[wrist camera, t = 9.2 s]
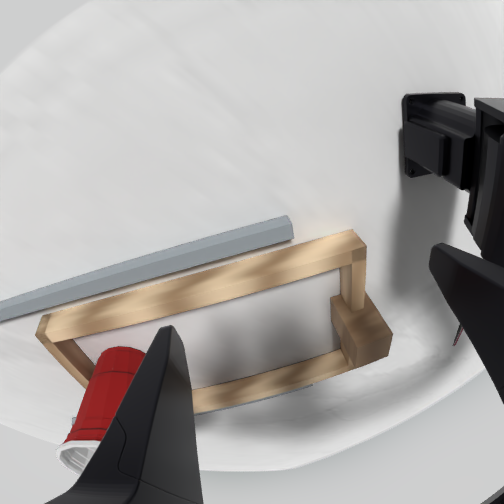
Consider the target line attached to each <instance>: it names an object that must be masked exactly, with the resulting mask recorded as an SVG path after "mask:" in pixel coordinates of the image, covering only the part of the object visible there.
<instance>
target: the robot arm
mask: <svg viewBox="0 0 504 504" xmlns="http://www.w3.org/2000/svg"><path fill="white" fill-rule="evenodd" d="M410 98H411V102H410V103H409V99H410ZM474 106H475V107H476V110H475V109H472V108H470V107H467V106H466V100H465V96H464V94H462V93H459V92H440V93H413V94H406V95H405V96H404V98H403V109H404V147H405V174H406V175H407V176H409V177H410V178H413V177H418V176H422V175H427V174H431V173H434V174H435V175H437V176H438V177H442V178H443V179H445V180H447V181H448V182H450V183H451V184H453V185H454V186H456V187H457V188H459V189H460V190H465V191H466V192H468V193H469V194H470V195H469V202H468V209H467V214H466V215H465V219H464V224H465V225H466V227H467V228H468V230H469V231H470V233H471V234H472V236H473V239H474V241H475V242H476V244H477V245H478V247H479V248H480V250H481V256H482V258H483V259H482V258H480V257H477V256H475V255H472V254H470V253H467V252H465V251H462V250H460V249H457V248H454V247H452V246H449V245H447V244H444V243H439V244H437V245H434V246H433V247H432V249H431V254H430V260H429V269H430V271H431V273H432V275H433V277H434V279H435V280H436V282H437V284H438V286H439V288H440V290H441V292H442V294H443V295H444V297H445V299H446V301H447V303H448V305H449V306H450V308H451V309H452V311H453V313H454V314H455V316H456V317H457V319H458V321H459V322H460V324H461V326H462V327H463V329H464V331H465V332H466V334H467V336H468V337H469V339H470V341H471V342H472V344H473V346H474V348H475V349H476V351H477V353H478V355H479V357H480V358H481V360H482V362H483V364H484V366H485V368H486V369H487V371H488V373H489V375H490V377H491V379H492V381H493V383H494V385H495V387H496V389H497V391H498V393H499V395H500V397H501V399H502V402H503V404H504V99H503V98H474ZM411 169H412V172H411V173H410V171H411ZM45 504H203V497H202V489H201V481H200V473H199V464H198V455H197V445H196V434H195V423H194V411H193V398H192V388H191V382H190V377H189V372H188V366H187V361H186V355H185V349H184V345H183V342H182V340H181V338H180V336H179V335H178V333H177V331H176V329H175V328H174V327H173V326H172V325H169V326H165V327H161V328H160V329H159V330H158V332H157V334H156V336H155V338H154V340H153V342H152V343H151V345H150V347H149V349H148V351H147V353H146V355H145V357H144V359H143V360H142V362H141V364H140V366H139V368H138V370H137V372H136V374H135V376H134V378H133V380H132V382H131V384H130V386H129V388H128V389H127V391H126V393H125V395H124V397H123V399H122V401H121V403H120V405H119V407H118V409H117V411H116V413H115V416H114V417H113V419H112V421H111V423H110V425H109V427H108V429H107V431H106V433H105V435H104V437H103V439H102V441H101V442H100V444H99V446H98V447H97V449H96V451H95V452H94V454H93V456H92V457H91V459H90V461H89V462H88V464H87V465H86V467H85V469H84V470H83V472H82V474H81V475H80V477H79V479H78V480H77V482H76V483H75V484H74V485H73V486H72V487H71V488H70V489H69V490H68V491H67V492H65V493H63V494H62V495H60V496H58V497H56V498H54V499H53V500H51V501H49V502H47V503H45ZM481 504H504V487H502V488H501V489H500V490H499V491H497V492H496V493H495V494H493V495H492V496H491V497H489V498H488V499H487V500H485V501H484V502H482V503H481Z"/></svg>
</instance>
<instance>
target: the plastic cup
mask: <svg viewBox="0 0 504 504" xmlns="http://www.w3.org/2000/svg"><path fill="white" fill-rule="evenodd" d="M145 355H146V354H145V353H143V352H142V351H140V350H137V349H133V348H130V347H119V346H118V347H113V348H108V349H107V350H105V351H104V352H102V353H101V356H100V357H99V358H98V361H97V364H96V366H95V369H94V372H93V375H92V378H90V381H89V383H88V386H87V389H86V392H85V394H84V397H83V400H82V403H81V406H80V409H79V412H78V414H77V417H76V420H75V424H73V426H72V429H71V431H70V433H69V434H68V436H67V439H66V440H65V441H64V443H63V444H61V445H59V446H58V448H57V451H56V458H57V459H58V460H59V461H60V463H61V464H62V465H63V466H64V467H65V468H67V469H69V470H70V471H72V472H73V473H75V474H77V475H78V476H80V475H81V474H82V472H83V470H84V469H85V467H86V465H87V464H88V462H89V461H90V459H91V457H92V456H93V454H94V452H95V451H96V449H97V447H98V446H99V444H100V442H101V441H102V439H103V437H104V435H105V433H106V431H107V429H108V427H109V425H110V423H111V421H112V419H113V417H114V416H115V413H116V411H117V409H118V407H119V405H120V403H121V401H122V399H123V397H124V395H125V393H126V391H127V389H128V388H129V386H130V384H131V382H132V380H133V378H134V376H135V374H136V372H137V370H138V368H139V366H140V364H141V362H142V360H143V359H144V357H145Z"/></svg>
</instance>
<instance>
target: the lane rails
mask: <svg viewBox="0 0 504 504" xmlns="http://www.w3.org/2000/svg"><path fill="white" fill-rule="evenodd" d="M293 238H294V233H293V226H292V223H291V221H290V219H289V218H288V216H287V215H286V216H282V217H279V218H275V219H271V220H268V221H264V222H260V223H257V224H253V225H249V226H246V227H242V228H239V229H235V230H231V231H228V232H224V233H221V234H217V235H214V236H210V237H207V238H203V239H200V240H196V241H193V242H189V243H186V244H182V245H179V246H176V247H172V248H169V249H165V250H162V251H159V252H155V253H152V254H149V255H145V256H142V257H139V258H135V259H132V260H129V261H125V262H122V263H119V264H116V265H112V266H109V267H106V268H103V269H99V270H96V271H93V272H90V273H87V274H84V275H80V276H77V277H74V278H71V279H68V280H65V281H62V282H58V283H55V284H52V285H49V286H46V287H43V288H40V289H37V290H34V291H31V292H28V293H25V294H22V295H19V296H16V297H13V298H10V299H7V300H4V301H1V302H0V321H3V320H6V319H10V318H13V317H17V316H20V315H24V314H27V313H31V312H34V311H38V310H41V309H45V308H48V307H52V306H55V305H59V304H63V303H66V302H70V301H73V300H77V299H80V298H84V297H87V296H91V295H94V294H98V293H101V292H105V291H108V290H112V289H116V288H119V287H123V286H126V285H130V284H133V283H137V282H140V281H144V280H147V279H151V278H154V277H158V276H162V275H165V274H169V273H172V272H176V271H179V270H183V269H186V268H190V267H193V266H197V265H201V264H204V263H208V262H211V261H215V260H218V259H222V258H225V257H229V256H233V255H236V254H240V253H243V252H247V251H250V250H254V249H258V248H261V247H265V246H268V245H272V244H275V243H279V242H283V241H286V240H290V239H293ZM309 386H313V384H310V385H306V386H303V387H300V388H297V389H294V390H290V391H287V392H283V393H280V394H276V395H273V396H269V397H265V398H262V399H258V400H254V401H250V402H246V403H242V404H238V405H233V406H229V407H225V408H220V409H215V410H210V411H205V412H200V413H195V414H194V415H200V414H205V413H210V412H215V411H219V410H224V409H229V408H233V407H237V406H241V405H246V404H250V403H254V402H258V401H261V400H265V399H269V398H273V397H276V396H280V395H283V394H287V393H290V392H293V391H297V390H300V389H303V388H306V387H309ZM75 420H76V418H72V426H73V424H75Z"/></svg>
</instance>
